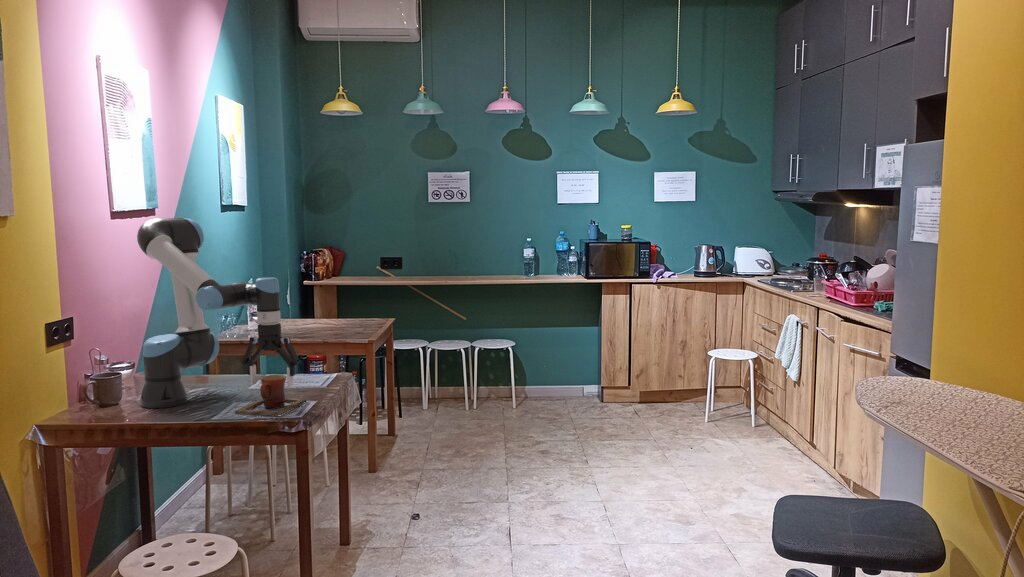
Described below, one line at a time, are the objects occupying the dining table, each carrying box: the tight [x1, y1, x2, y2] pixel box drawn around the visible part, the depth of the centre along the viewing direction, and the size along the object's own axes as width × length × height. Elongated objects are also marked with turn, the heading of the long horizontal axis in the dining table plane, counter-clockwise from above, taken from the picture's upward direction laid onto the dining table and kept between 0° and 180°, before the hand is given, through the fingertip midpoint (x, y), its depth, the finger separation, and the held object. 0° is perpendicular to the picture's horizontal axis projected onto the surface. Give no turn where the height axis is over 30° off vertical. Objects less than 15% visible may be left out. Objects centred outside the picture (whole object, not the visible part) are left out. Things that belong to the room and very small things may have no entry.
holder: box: [234, 397, 307, 417], centre depth 258 cm, size 16×19×1 cm
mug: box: [259, 374, 287, 409], centre depth 258 cm, size 12×9×10 cm
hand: (272, 384), depth 257 cm, fingers open, 13 cm apart
